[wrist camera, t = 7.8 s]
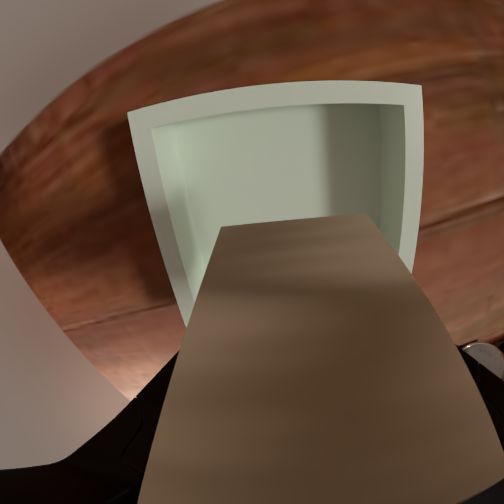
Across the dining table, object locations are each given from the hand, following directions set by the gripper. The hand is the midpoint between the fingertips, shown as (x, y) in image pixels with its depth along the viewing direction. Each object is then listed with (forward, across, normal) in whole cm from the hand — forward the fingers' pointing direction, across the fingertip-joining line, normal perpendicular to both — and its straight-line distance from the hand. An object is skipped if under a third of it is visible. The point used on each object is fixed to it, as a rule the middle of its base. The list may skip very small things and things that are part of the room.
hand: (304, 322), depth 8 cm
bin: (+10, 0, 0) cm, 10 cm away
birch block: (+2, 0, 0) cm, 2 cm away
